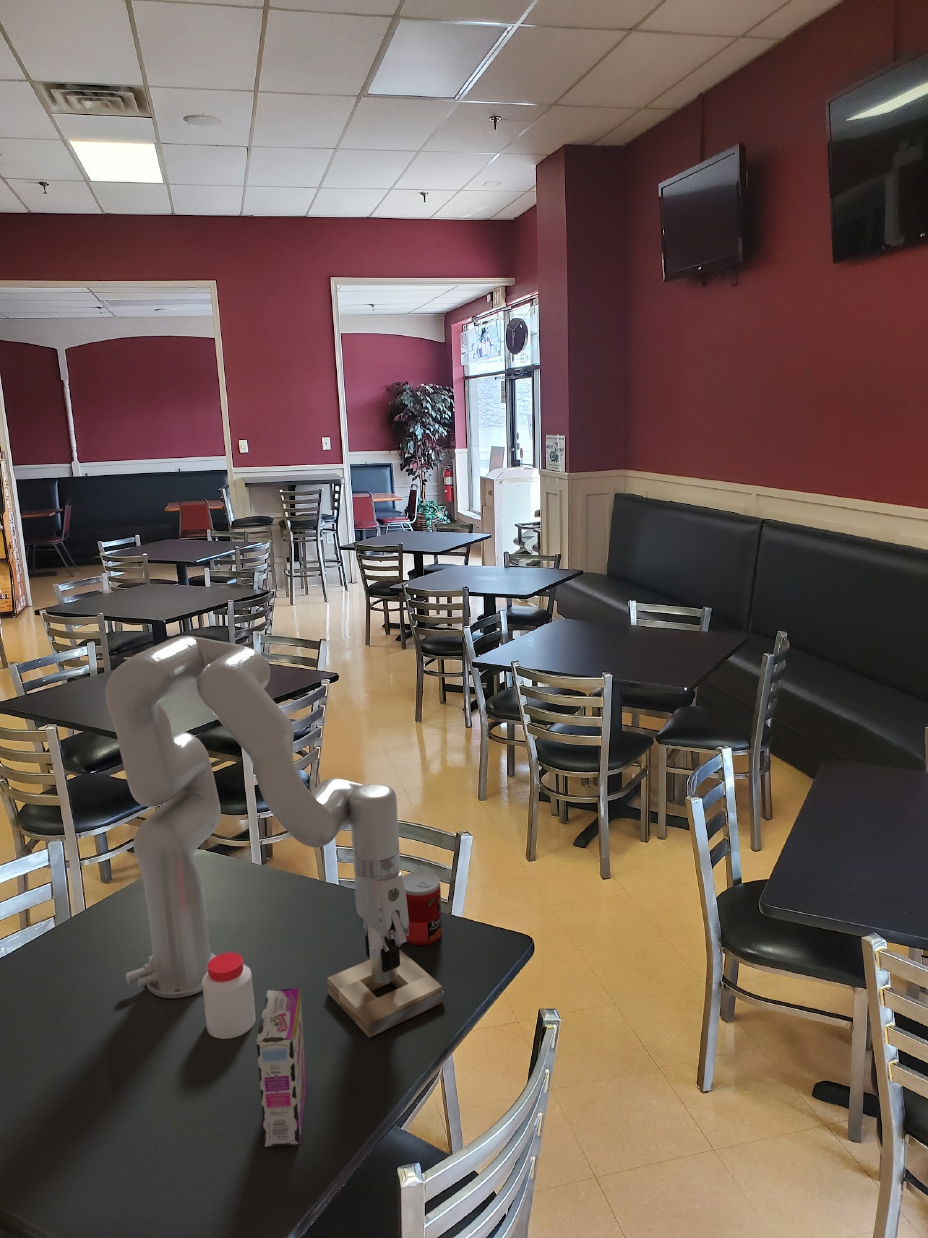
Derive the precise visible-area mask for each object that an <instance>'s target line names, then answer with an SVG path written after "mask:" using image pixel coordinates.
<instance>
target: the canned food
mask: <svg viewBox="0 0 928 1238" xmlns="http://www.w3.org/2000/svg"><path fill="white" fill-rule="evenodd" d="M402 878H403V882H404V887H405V892H406V899H407V908H408V918H409V926H408V928H405V929H404V928H403V927H402V928H403V930H404V933H405V936H406V942H405V943H407V944H410V945H413V946H427V945H431V944H433V943H435V942H436V941H438V940H439V939H440V938H441V935H442V931H443V921H442V899H441V897H442V895H441V891H442V890H441V881H440V878H439V877H438V876H437V875H435V874H433V873H431V872H427V871H414V872H408V873H407V874H404V875H402Z"/></svg>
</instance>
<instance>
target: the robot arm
mask: <svg viewBox="0 0 928 1238" xmlns="http://www.w3.org/2000/svg"><path fill="white" fill-rule="evenodd" d="M270 679H271V667H270V664H269V663H268V661H267V660H266V658H265V657H264V656H263V655H262V653H260V652H258V651H257V650H256V649H253V648H251V647H247V646H245V645H241V644H236V643H230V642H225V641H220V640H215V639H210V638H205V637H199V636H194V635H180V636H175V637H173V638H170V639H168V640H165V641H163V642H161V643H158V644H157V645H154V646H152V647H149V648H147V649H146V650H143V651H141V652H139V653H136V654H135V655H133V656H131V657H130V658H128V659H127V660H125V661H123V662H122V663H121V664H120V665H118V666H117V667H116V668H115V669H114V670H113V672H112V673H110V676H109V678H108V679H107V681H106V686H105V693H104V694H105V703H106V706H107V707H106V708H107V710H108V713H109V716H110V718H111V721H112V724H113V726H114V729H115V734H116V736H117V744H118V747H119V748H118V749H119V752H120V756H121V760H122V764H123V768H124V769H123V770H124V773H125V776H126V777H125V778H126V782H127V784H128V787H129V791H130V794H131V796H132V797H133V799H134V800H135V801H136V802H137V803H138V804H139V805H141V806H143V807H147V808H148V807H149V808H152V807H153V808H154V807H158V806H160V807H158V808H157V809H156V810H155V811H153V812H152V813H151V814H150V815H148V816H147V817H146V818H145V819H144V821H143V822H142V823H141V824H140V825H139V827H138V829H136V832H135V834H134V837H133V850H134V851H133V852H134V855H135V858H136V861H137V864H138V866H139V869H140V872H141V876H142V881H143V886H144V893H145V900H146V907H147V909H146V910H147V916H148V924H149V932H150V933H149V934H150V941H151V949H152V955H150V956H148V963H145V964H143V967H141V968H137V969H134V970H131V971H128V972H126V973H125V979H126V983H127V984H128V985H130V984H131V985H132V984H134V983H136V982H137V985H138V988H142V987H144V986H147V990H149V992H150V993H152V994H153V995H155V996H157V997H159V998H165V999H179V998H186V997H190V996H194V995H197V994H198V993H200V992H203V989H202V979H203V977H204V975H205V974H206V973H207V972H208V963H209V961H210V960H211V959H212V958H214V957H216V956H217V955H216V954H214V953H213V952H212V951H211V944H210V943H211V942H210V933H209V924H208V915H207V905H206V897H205V889H204V888H205V887H204V886H205V885H204V880H203V875H202V873H201V870H200V868H199V867H198V865H197V863H196V861H195V858H194V856H195V855H194V854H195V851H196V850H198V849H199V847H200V846H201V845H202V844H203V843H204V842H206V840H207V839H208V838H209V837H211V835H213V833H214V832H215V831H216V829H217V828H218V826H219V824H220V821H221V815H222V814H221V813H222V812H221V802H220V799H219V794H218V790H217V789H218V788H217V785H216V779H215V776H214V772H213V768H212V763H211V758H210V756H209V755H210V754H209V753H208V750H207V749H206V747H205V745H204V744H203V743H202V741H201V740H200V739H199V738H198V737H197V736H195V735H193V734H191V733H189V732H186V731H175V732H172V725H171V721H170V720H169V716H168V715H167V713H166V711H165V710H164V709H163V707H162V706H161V705H160V704H159V703H160V702H162V701H164V700H166V699H168V698H169V697H172V696H174V695H175V694H177V693H179V692H181V691H183V690H184V689H186V688H188V687H190V686H191V685H196V691H197V693H198V696H199V697H200V699H201V701H202V702H203V703H204V704H205V706H206V707H207V709H209V710H210V712H211V713H212V714H213V716H215V718H216V719H217V721H219V722H220V723H221V724H222V726H223V727H224V729H226V730H227V732H229V734H230V735H231V736H232V738H234V740H235V741H236V742H237V743H238V745H239V746H240V747H241V749H243V751H244V752H245V753H246V754H247V756H248V757H249V758H250V760H251V762H252V766H253V772H254V777H255V779H256V783H257V785H258V788H259V790H260V794H261V796H262V799H263V801H264V803H265V805H266V806H267V808H268V809H269V811H270V812H271V813H272V815H273V816H274V817H275V819H276V820H277V821H278V823H280V824H281V826H282V827H283V828H284V830H286V831H287V833H289V835H291V836H292V838H294V839H295V840H296V841H297V842H299V843H300V844H302V845H304V846H306V847H309V848H313V849H314V848H316V849H317V848H322V847H325V846H326V845H328V844H330V843H331V842H332V841H333V840H334V839H336V837H337V836H338V834H339V833H340V832H341V830H342V829H343V828H344V827H345V826H347V825H350V832H351V833H350V834H351V845H352V858H353V873H354V900H355V909H356V912H357V914H358V916H359V917H360V920H361V921H362V923H363V926H362V930H363V934H364V939H365V941H364V943H365V955H366V957H367V958H368V959H370V953H369V938H368V924H369V925H370V926H371V927H372V928H373V929H374V930H376V931H377V932H378V933H379V934H380V935H381V940H382V946H383V949H381V964H382V971H383V972H388V971H390V970H392V969H394V968H397V967H399V966H400V951H399V949H400V947H401V945H402V944H404V943H407V942H406V936H405V933H404V930H403V928H404V929H405V928H408V926H409V918H408V908H407V899H406V892H405V887H404V882H403V878H402V876H403V875H402V872H401V871H400V870H401V853H400V852H401V851H400V835H399V834H400V833H399V818H398V817H399V816H398V801H397V800H398V798H397V795H396V792H395V790H394V789H393V788H392V787H391V786H389V785H386V784H382V783H371V784H363V783H358V782H354V781H352V780H347V779H343V778H338V777H336V778H335V777H332V778H331V777H329V778H327V779H324V780H323V781H321V782H320V783H318V784H317V786H315V788H314V789H313V790H312V791H310V790H309V789H308V787H307V786H306V785H305V783H304V781H303V780H302V779H301V777H300V775H299V772H298V770H297V768H296V765H295V761H294V760H295V759H294V751H293V749H294V738H295V737H294V736H295V735H294V734H295V732H294V729H295V728H294V725H293V722H292V720H291V719H290V718H289V717H288V716H287V715H286V714H285V712H284V711H283V709H281V708H280V707H279V705H278V704H277V703H276V702H275V701H274V700H273V698H272V697H271V696H270V695H269V694H268V692H267V691H266V690H265V688H266V687H267V685H268V684H269V682H270ZM390 927H391V928H390ZM402 927H403V928H402ZM390 934H393V937H394V938H393V939H390V940H389V941H388V939H387V936H388V935H390Z"/></svg>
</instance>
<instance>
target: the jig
mask: <svg viewBox="0 0 928 1238" xmlns="http://www.w3.org/2000/svg"><path fill="white" fill-rule="evenodd" d="M399 951H400V966H399V967H397V977H396V979H395V980H393V981H392V982H389V983H383V984H381V983H376V982H374V981H373V980H372V979H371V968H370V959H367V960H365V961H363V962H361V963H359V964H357V965H353V966H352V967H349V968H347V969H344V970H342V971H340V972H338V973H335V974H333V975H331V976H328V977H327V994H328V995H329V996H330V997H331V998H332V999H333V1000H334V1001H335V1002H336V1004H338V1006H339V1007H340V1008H341V1009H342V1010H343V1011H344V1012H345V1013H346V1014H347V1015H348V1016H349V1017H350V1019H351V1020H353V1022H354V1023H355V1024H356V1025H357V1026H358V1027H359V1029H361V1030H362V1032H363V1033H364V1034H366V1036H367V1037H368V1038H371V1037H374V1036H376V1035H377V1034H380V1033H382V1032H384V1031H386V1030H388V1029H390V1028H392V1027H395V1026H397V1025H399V1024H401V1023H403V1022H405V1021H407V1020H409V1019H411V1018H413V1017H416V1016H417V1015H419V1014H421V1013H424V1012H426V1011H427V1010H430V1009H432V1008H434V1007H437V1006H438V1005H440V1004H442V1003H443V1002H445V1000H446V999H445V996H446V995H445V991H444V990H443V985H441V984H440V983H439V982H438V981H437V980H435V979H434V978H433V977H432V976H431V975H430V974H429V973H428V972H426V971H425V970H424V969H423V968H422V967H421V966H419V964H417V962H415V961H414V960H413V959H412V958H411V957H409V956H408V955H407V954H406V953H405V952H404V951H402V949H400V948H399ZM390 983H391V984H393V986H394V987H395V988H397V989H394V990H392V991H390V992H388V993H386V994H384V995H381V996H379V997H377V996H376V995H375V994H374V993H373V991H374V990H377V989H380V988H382V987H383V986H386V985H389V984H390Z"/></svg>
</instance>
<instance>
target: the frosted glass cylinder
mask: <svg viewBox="0 0 928 1238" xmlns="http://www.w3.org/2000/svg"><path fill="white" fill-rule="evenodd" d="M390 928H391V927H390ZM368 938H369V953H370V958H369V960H370V968H371V979H372V980H373V981H374V982H376V983H381V984H383V983H388V984H390V983H389V982H391V983H392V981H393V980H395V979H396V977H397V968H394V969H392V970H390V971H388V972H383V971H382V964H381V949H383V946H382V940H381V935H380V934H379V933H378V932H377V931H376V930H374V929H373V928H372V927H371V926H370V925H369V924H368ZM393 938H394V937H393V934H390V935H388V936H387V939H388V941H389V940H390V939H393Z"/></svg>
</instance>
